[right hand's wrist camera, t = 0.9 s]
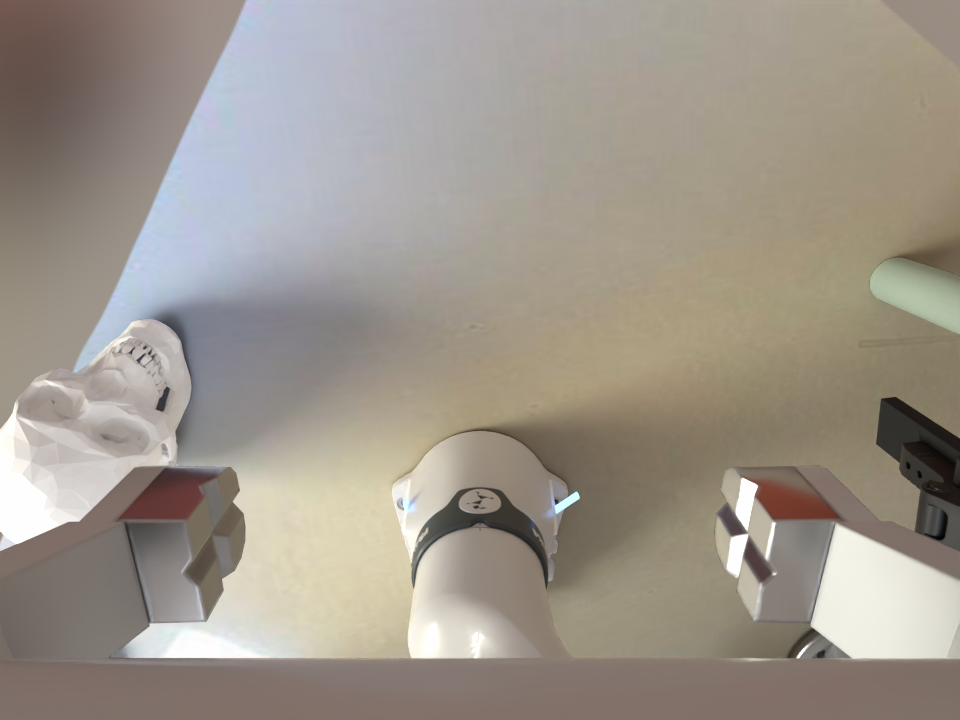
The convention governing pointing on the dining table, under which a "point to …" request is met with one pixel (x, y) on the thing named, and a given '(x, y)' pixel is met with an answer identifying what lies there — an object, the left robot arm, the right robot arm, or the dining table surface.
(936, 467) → the left robot arm
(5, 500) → the skull
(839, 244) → the dining table surface
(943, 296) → the green bottle
